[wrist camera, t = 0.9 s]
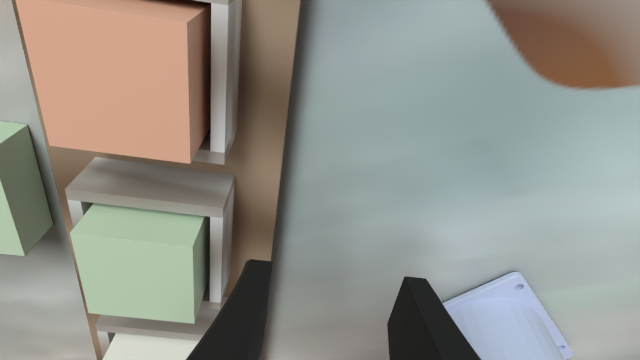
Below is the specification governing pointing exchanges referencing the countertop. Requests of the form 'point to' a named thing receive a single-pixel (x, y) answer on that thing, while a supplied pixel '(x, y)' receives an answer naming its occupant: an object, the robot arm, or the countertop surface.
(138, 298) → the sage button
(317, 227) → the countertop surface
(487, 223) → the countertop surface
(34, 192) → the block
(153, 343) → the cream button
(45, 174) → the countertop surface
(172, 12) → the terracotta button
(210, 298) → the button console
